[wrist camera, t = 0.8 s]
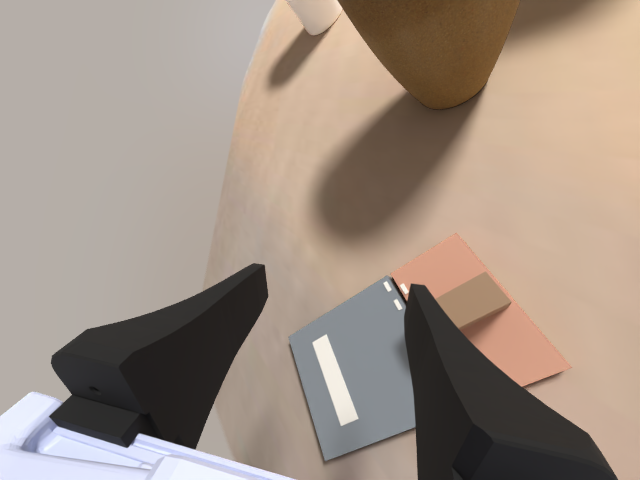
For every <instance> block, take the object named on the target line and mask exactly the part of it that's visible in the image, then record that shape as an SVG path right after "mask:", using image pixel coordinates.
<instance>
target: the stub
mask: <svg viewBox="0 0 640 480" xmlns="http://www.w3.org/2000/svg"><path fill="white" fill-rule="evenodd" d="M391 275H392V277H393V279H394V280H395V282H396V284H397V285H398V287H399V289H400V290H401V292H402V294H403V295H404V297H405V299H406V300H407V299H408V295H409V290H410V285H411V283H412V284H420V285H425V286H426V287H427V288H428V290H429V291H430V293H431V294H432V295H433V297H434V298H435V300H436V301H437V302H438V304H439V305H440V306H441V308H442V309H443V310H444V312H445V313H446V314H447V315H448V317H449V318H450V319H451V320H452V322H453V323H454V324H455V325H456V326H457V327H458V329H459V330H460V331H461V332H462V333H463V334H464V335H465V336H466V337H467V339H468V340H469V341H470V342H471V343H472V344H473V345H474V346H475V347H476V348H478V349H479V350H480V351H481V352H482V353H483V354H484V355H485V356H486V357H487V358H488V359H489V360H490V361H491V362H492V363H494V364H495V365H496V366H497V367H498V368H499V369H501V370H502V371H503V372H504V373H505V374H506V375H508V376H509V377H510V378H511V379H512V380H514V381H515V382H516V383H518V384H519V385H520V386H521V387H522V386H525V385H528V384H530V383H533V382H535V381H538V380H541V379H543V378H546V377H549V376H551V375H554V374H557V373H559V372H562V371H565V370H567V369H570V368H572V367H571V366H570V365H569V363H568V362H567V361H566V360H565V359H564V358H563V356H562V355H561V354H560V353H559V352H558V351H557V349H556V348H555V347H554V346H553V345H552V344H551V342H550V341H549V340H548V339H547V338H546V337H545V335H544V334H543V333H542V332H541V331H540V330H539V328H538V327H537V326H536V325H535V324H534V323H533V321H532V320H531V319H530V318H529V317H528V316H527V314H526V313H525V312H524V311H523V310H522V309H521V307H520V306H519V305H518V304H517V303H516V302H515V300H514V299H513V298H512V297H511V296H510V295H509V293H508V292H507V291H506V290H505V289H504V288H503V286H502V285H501V284H500V283H499V282H498V281H497V279H496V278H495V277H494V276H493V275H492V274H491V272H490V271H489V270H488V269H487V268H486V267H485V265H484V264H483V263H482V262H481V261H480V259H479V258H478V257H477V256H476V255H475V254H474V252H473V251H472V250H471V249H470V248H469V247H468V245H467V244H466V243H465V242H464V241H463V240H462V238H461V237H460V236H459V235H458V234H457V233H455V234H454V235H452V236H450V237H449V238H447V239H446V240H444V241H442V242H441V243H439V244H438V245H436V246H434V247H433V248H431V249H429V250H428V251H426V252H425V253H423V254H421V255H420V256H418V257H417V258H415V259H413V260H412V261H410V262H409V263H407V264H405V265H404V266H402V267H401V268H399V269H397V270H396V271H394V272H393V273H391Z"/></svg>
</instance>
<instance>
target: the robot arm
mask: <svg viewBox="0 0 640 480" xmlns="http://www.w3.org/2000/svg"><path fill="white" fill-rule="evenodd" d="M267 298H268V289H267V281H266V273H265V265H262V264H255V263H253V264H251V265H249V266H248V267H246V268H244V269H242V270H241V271H239V272H237V273H235V274H234V275H232V276H230V277H228V278H227V279H225V280H223V281H222V282H220V283H218V284H216V285H214V286H212V287H210V288H208V289H207V290H205V291H203V292H201V293H199V294H197V295H195V296H193V297H190V298H188V299H186V300H183V301H181V302H179V303H176V304H174V305H171V306H168V307H165V308H163V309H160V310H157V311H155V312H152V313H149V314H145V315H142V316H139V317H135V318H132V319H128V320H125V321H121V322H117V323H113V324H108V325H104V326H100V327H96V328H91V329H87V330H85V331H84V332H83V333H81V334H80V335H79V336H77V337H76V338H75V339H73V340H72V341H71V342H70V343H68V344H67V345H65V346H64V347H63V348H61V349H60V350H59V351H58V352H56V353H55V354H54V355H52V360H51V364H52V367H53V369H54V371H55V372H56V374H57V375H58V377H59V378H60V379H61V381H62V382H63V383H64V385H66V387H67V388H68V390H69V391H70V392H71V394H73V395H71V396H70V397H69V398H68V399H67V400H66V401H65V402H64V403H63V402H62V401H61V400H59V399H57V398H55V397H51V396H48V395H44V394H41V393H37V392H30V393H29V394H28V395H26V396H25V397H24V398H23V399H21V400H20V401H19V402H18V403H16V404H15V405H14V406H13V407H11V408H10V409H9V410H8V411H6V412H5V413H4V414H3V415H1V416H0V480H296V479H293V478H289V477H286V476H283V475H279V474H276V473H273V472H269V471H266V470H262V469H259V468H256V467H252V466H249V465H245V464H242V463H239V462H235V461H232V460H228V459H225V458H222V457H218V456H215V455H211V454H208V453H204V452H201V451H198V450H195V449H196V446H197V444H198V441H199V439H200V436H201V433H202V431H203V428H204V426H205V423H206V420H207V418H208V416H209V413H210V411H211V408H212V406H213V404H214V401H215V399H216V396H217V394H218V392H219V390H220V388H221V385H222V383H223V381H224V379H225V376H226V374H227V372H228V370H229V368H230V366H231V364H232V362H233V360H234V358H235V356H236V354H237V352H238V350H239V349H240V347H241V345H242V344H243V342H244V341H245V339H246V337H247V336H248V334H249V332H250V331H251V329H252V327H253V326H254V324H255V322H256V321H257V319H258V317H259V316H260V314H261V312H262V310H263V308H264V305H265V303H266V301H267ZM404 334H405V343H406V349H407V355H408V361H409V367H410V374H411V380H412V386H413V395H414V409H415V426H416V445H417V469H418V480H618V479H617V477H616V475H615V474H614V472H613V470H612V469H611V467H610V466H609V464H608V462H607V461H606V459H605V458H604V456H603V454H602V453H601V451H600V450H599V448H598V447H597V445H596V444H595V442H594V441H593V440H592V438H591V437H590V435H589V434H588V433H586V432H585V431H583V430H582V429H581V428H579V427H578V426H576V425H575V424H573V423H572V422H570V421H569V420H567V419H566V418H564V417H563V416H561V415H560V414H558V413H557V412H555V411H554V410H552V409H551V408H550V407H548V406H547V405H545V404H544V403H543V402H541V401H540V400H539V399H537V398H536V397H535V396H533V395H532V394H531V393H529V392H528V391H527V390H525V389H524V388H523V387H521V386H520V385H519V384H518V383H516V382H515V381H514V380H512V379H511V378H510V377H509V376H508V375H506V374H505V373H504V372H503V371H502V370H501V369H499V368H498V367H497V366H496V365H495V364H494V363H492V362H491V361H490V360H489V359H488V358H487V357H486V356H485V355H484V354H483V353H482V352H481V351H480V350H479V349H478V348H476V347H475V346H474V345H473V344H472V343H471V342H470V341H469V340H468V339H467V337H466V336H465V335H464V334H463V333H462V332H461V331H460V330H459V329H458V327H457V326H456V325H455V324H454V323H453V322H452V320H451V319H450V318H449V317H448V315H447V314H446V313H445V312H444V310H443V309H442V308H441V306H440V305H439V304H438V302H437V301H436V300H435V298H434V297H433V295H432V294H431V293H430V291H429V290H428V288H427V287H426V286H425V285H420V284H412V283H411V285H410V290H409V295H408V299H407V304H406V309H405V314H404Z"/></svg>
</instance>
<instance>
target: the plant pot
mask: <svg viewBox="0 0 640 480" xmlns="http://www.w3.org/2000/svg"><path fill="white" fill-rule="evenodd" d="M337 1H338V2H339V4H340V5H341V7H342V8H343V10H344V11H345V13H346V14H347V16H348V17H349V19H350V20H351V22H352V23H353V25H354V26H355V28H356V29H357V31H358V32H359V34H360V35H361V36H362V38H363V39H364V41H365V42H366V43H367V45H368V46H369V48H370V49H371V50H372V52H373V53H374V54H375V55H376V57H377V58H378V59H379V60H380V62H381V63H382V64H383V65H384V67H385V68H386V69H387V70H388V71H389V72H390V73H391V74H392V76H393V77H394V78H395V79H396V80H397V81H398V82H399V83H400V84H401V85H402V86H403V87H404V88H405V89H406V90H407V91H408V92H409V93H410V94H411V95H413V96H414V97H415V98H416V99H417V100H418V101H420V102H421V103H422V104H423V105H425V106H426V107H428V108H432V109H447V108H451V107H454V106H457V105H460V104H462V103H464V102H465V101H467V100H469V99H470V98H472V97H473V96H475V95H476V94H477V93H478V92H479V91H480V90H481V89H482V88H483V86H484V85H485V84H486V82H487V80H488V78H489V76H490V74H491V72H492V70H493V68H494V66H495V64H496V61H497V59H498V57H499V55H500V52H501V50H502V48H503V45H504V43H505V40H506V38H507V35H508V33H509V30H510V27H511V25H512V22H513V19H514V17H515V14H516V11H517V8H518V6H519V3H520V0H337Z"/></svg>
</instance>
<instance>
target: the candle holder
mask: <svg viewBox="0 0 640 480" xmlns="http://www.w3.org/2000/svg"><path fill="white" fill-rule="evenodd" d="M285 1H286V2H287V4H288V5H289V7H290V8H291V10H292V11H293V12H294V14H295V15H296V17H297V18H298V19H299V21H300V22H301V24H302V25H303V26H304V28H305V29H306V31H307V32H308V33H309V34H310V35H318V34H320V33H322V32H324V31H325V30H327V29H328V28H329V27H330V26H331V25H332V24H333V23H334V22H335V21H336V20H337V18H338V17H339V15H340V14H341V12H342V9H343V8H342V7H341V5H340V4H339V2H338V1H337V0H285Z"/></svg>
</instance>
